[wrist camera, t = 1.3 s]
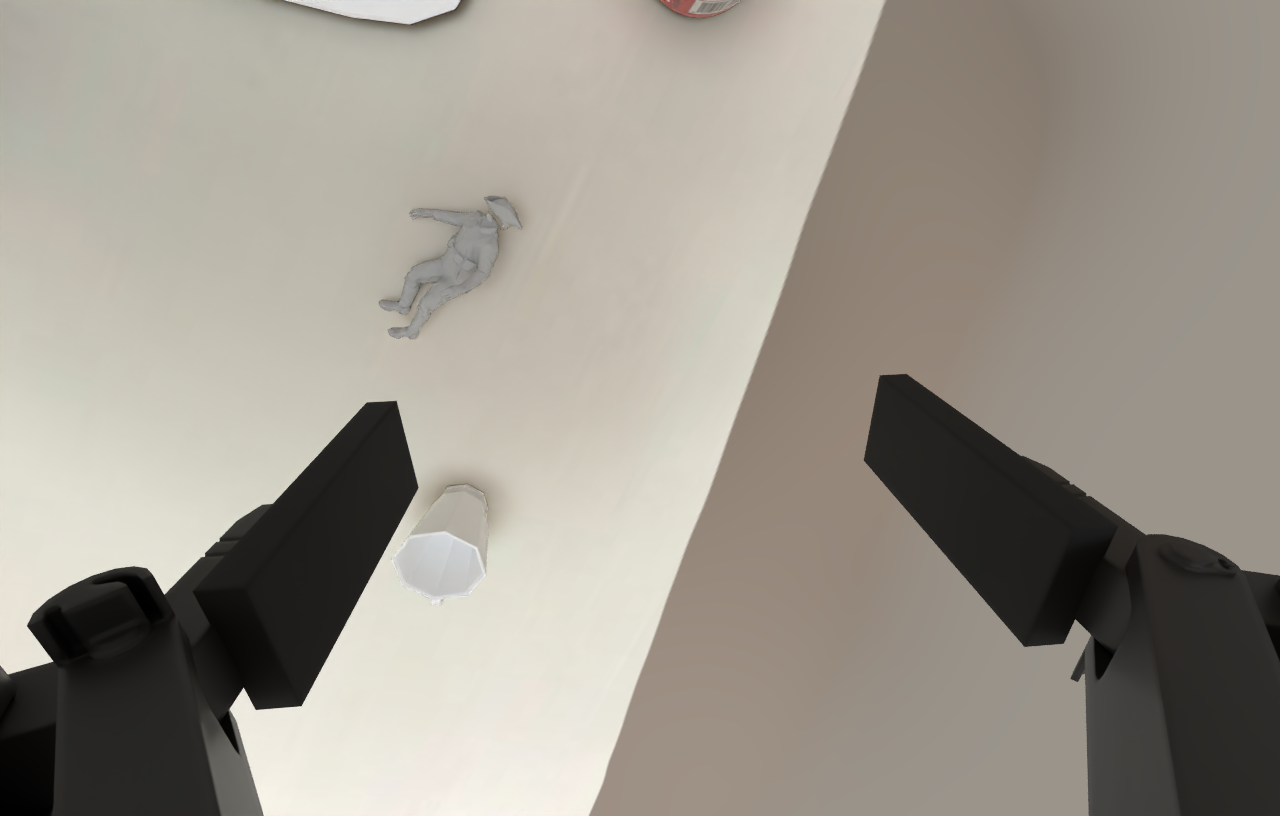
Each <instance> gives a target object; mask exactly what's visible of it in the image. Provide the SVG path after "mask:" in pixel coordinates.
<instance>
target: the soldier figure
mask: <svg viewBox="0 0 1280 816" xmlns="http://www.w3.org/2000/svg"><path fill="white" fill-rule="evenodd" d="M484 200H485V201H486V203H487V204H488V206H489V207H490V209H491V210H492V211H493V213H494V214H495V215H496V216H498V217H499V219H500V220H501V221H502V227H507V229H508V228H509V227H510V226H514V227H517V228H519V229H521V230H522V225H521V223H520V221H519V217H518V214H517V212H516V211H515V209H514V207H513V206H512V205H511V204H510V203H509V201H508V200H507V199H506V198H505V197H499V196H489V197H484ZM410 214H411V215H410ZM409 215H410V217H412V216H413V215H416V216H414V217H413V218H412V219H415V218H417V217H434V219H435V220H438V221H442V222H446V223H448V224H451V225H456V226H461V227H462V229H461V230H460V232H459V233H456V235H453V236H452V238H451V239H450V241H449V242H448V246H449V248H448V249H447V251H446V253H445V254H444V255H443V257H442V258H440V259H436V260H432V261H426V262H424V263H421V264H418V265H416V266H414V267H412V269H411V271H410V272H408V274H407V276H406V277H405V284H404V289H403V292H402V296H401V298H400V301H395V302H394V301H389V300H381V301H379V305H380V307H381V308H383V309H384V310H386V311H392V310H396V311H399V313H401V314H403V315H407V314H408V312H409V310H410V305H411V304H412V302H413V300H414V297H415V296H416V294H417V291H418V289H419V287H420V286H419V284H420V283H423V284H424V283H427V282H431V283H433V282H436V283H435V284H434V285H433V286H432V287H431V288H430V290H429V291H428V292H427V293H426V295H425V296H424V297H423V298H422V299H421V301H420V304H419V305H418V306H417V309H418V311H417V313H416V315H415V317H414V319H413V320H412V322H411V324H410V326H408V327H404V328H399V327H395V328H390V329H388V333H389V335H390V336H392V337H394V338H398V339H399V338H401V337H409V339H416V338H417V337H418V335H419V330H420V328H421V327H422V326H423V324H424V323H425V322H426V321H427V320H428V319H429V317H430V315H431V312H433V311H434V310H435V309H436V308H437V307H438V306H439V305H442V304H443V303H445V302H446V301H448V300H450V299H453V298H455V297H457V296H459V295H460V294H462V293H468V292H469V291H470V290H472V289H473V288H475V287H476V286H478V285H479V284H481V283H482V282H483V281H485V280H486V279H487V278H488V277H489V276H490V272H491V268H492V267H493V265H494V262H495V260H496V257H497V253H498V252H499V247H498V239H497V238H498V233H496V231H497V228H498V224H497V222H496V220H495V219H494V218H493V216H492V215H490V214H489V211H488V214H487V215H486V216H485V215H484V214H483V213H482V212H480V211H477V212H470V213H459V212H451V211H442V210H435V209H434V210H430V209H420V208H419V209H413V210H412V211H410V213H409ZM491 216H492V217H491ZM500 230H501V227H500ZM503 230H504V229H503ZM505 230H506V229H505ZM477 265H478V269H477ZM476 270H477V271H476Z"/></svg>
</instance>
